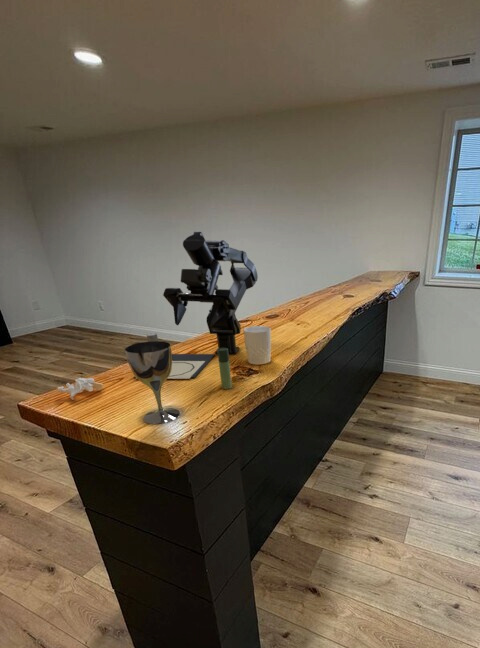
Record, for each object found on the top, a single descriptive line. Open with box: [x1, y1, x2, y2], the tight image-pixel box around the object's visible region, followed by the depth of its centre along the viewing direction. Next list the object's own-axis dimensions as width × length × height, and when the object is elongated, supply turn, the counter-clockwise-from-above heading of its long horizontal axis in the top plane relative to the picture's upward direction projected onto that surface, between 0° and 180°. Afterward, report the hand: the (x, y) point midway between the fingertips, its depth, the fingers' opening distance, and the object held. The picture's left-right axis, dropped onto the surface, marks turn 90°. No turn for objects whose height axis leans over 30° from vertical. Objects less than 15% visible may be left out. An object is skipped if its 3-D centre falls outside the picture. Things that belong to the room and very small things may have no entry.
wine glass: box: [124, 340, 181, 425], centre depth 70 cm, size 8×8×15 cm
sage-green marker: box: [216, 348, 233, 390], centre depth 85 cm, size 2×2×10 cm
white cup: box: [243, 325, 272, 366], centre depth 103 cm, size 8×8×10 cm
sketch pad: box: [133, 353, 216, 380], centre depth 101 cm, size 21×16×1 cm
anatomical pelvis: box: [56, 377, 104, 401], centre depth 82 cm, size 8×4×7 cm
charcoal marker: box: [146, 332, 159, 342], centre depth 95 cm, size 2×2×10 cm
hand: (192, 325), depth 91 cm, fingers open, 9 cm apart
